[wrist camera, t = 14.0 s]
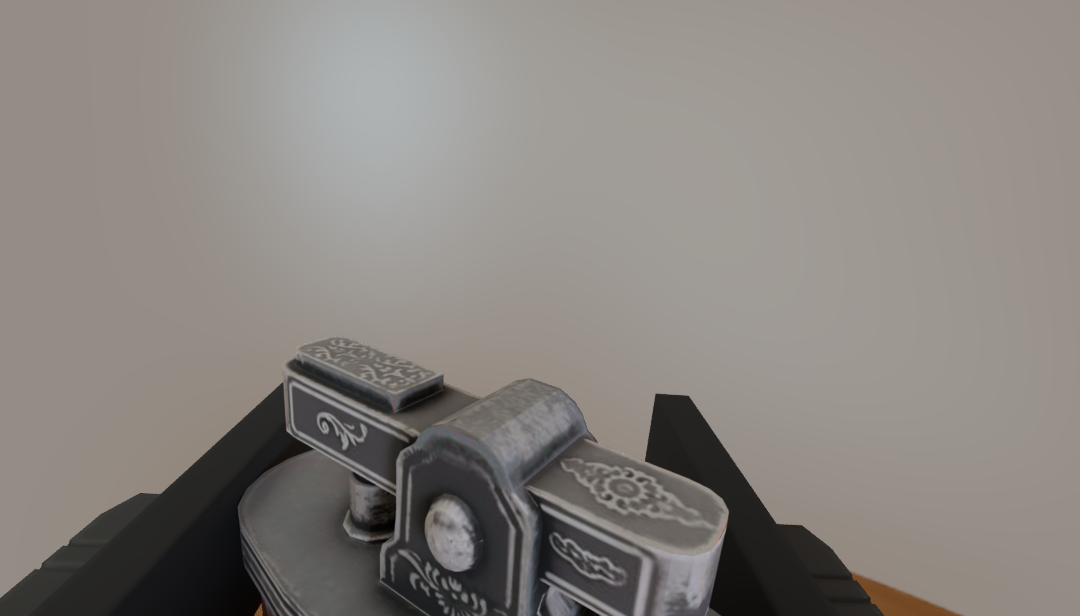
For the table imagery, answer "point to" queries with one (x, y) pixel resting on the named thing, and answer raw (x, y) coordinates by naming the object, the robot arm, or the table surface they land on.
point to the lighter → (464, 503)
